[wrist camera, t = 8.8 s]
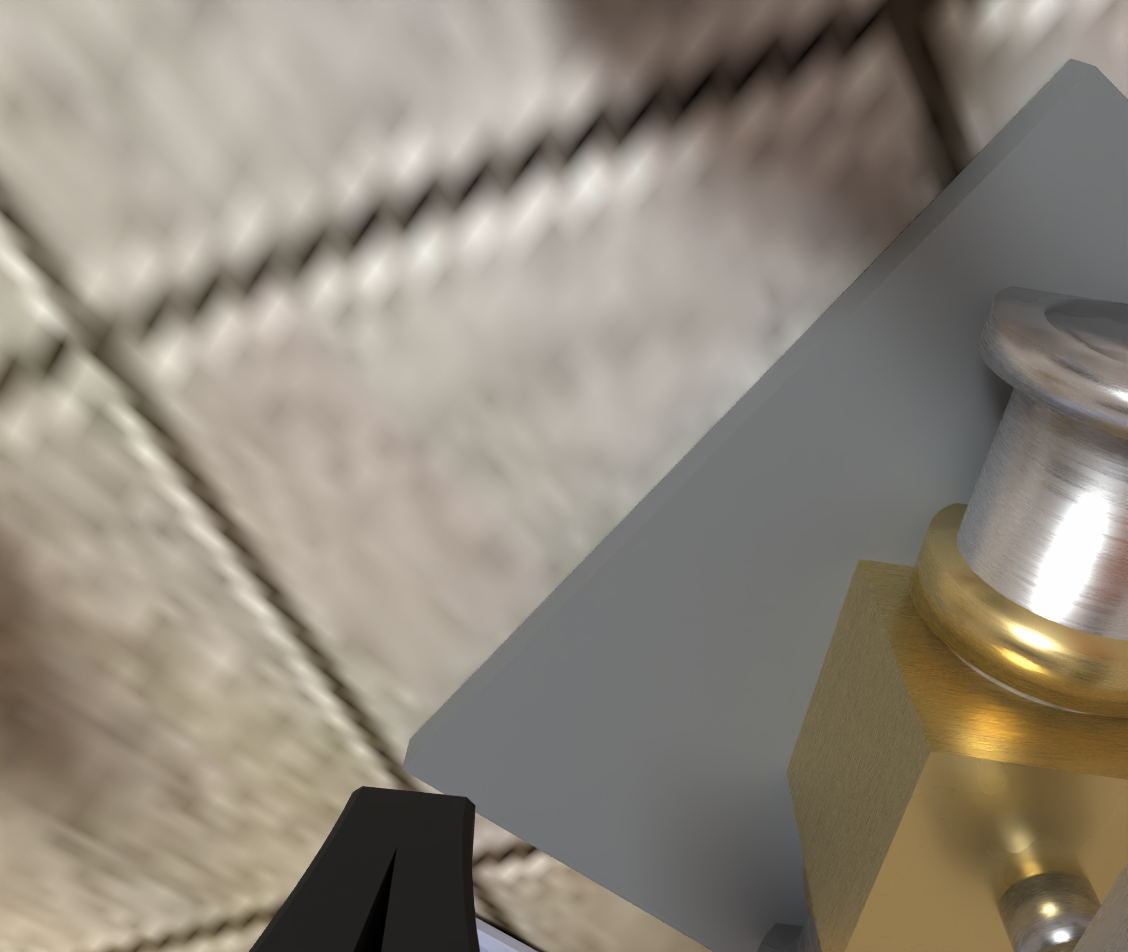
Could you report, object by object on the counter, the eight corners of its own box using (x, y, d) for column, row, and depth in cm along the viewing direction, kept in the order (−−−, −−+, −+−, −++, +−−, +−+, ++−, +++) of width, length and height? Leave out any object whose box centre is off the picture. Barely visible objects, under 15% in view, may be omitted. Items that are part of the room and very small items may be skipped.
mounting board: (867, 1012, 29) (874, 1045, 28) (409, 739, 25) (402, 769, 24) (1573, 570, 21) (1614, 598, 20) (1071, 58, 17) (1095, 66, 16)
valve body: (946, 941, 27) (1053, 1276, 21) (727, 911, 27) (762, 1238, 20) (1260, 312, 19) (1622, 533, 12) (941, 263, 18) (1125, 458, 12)
